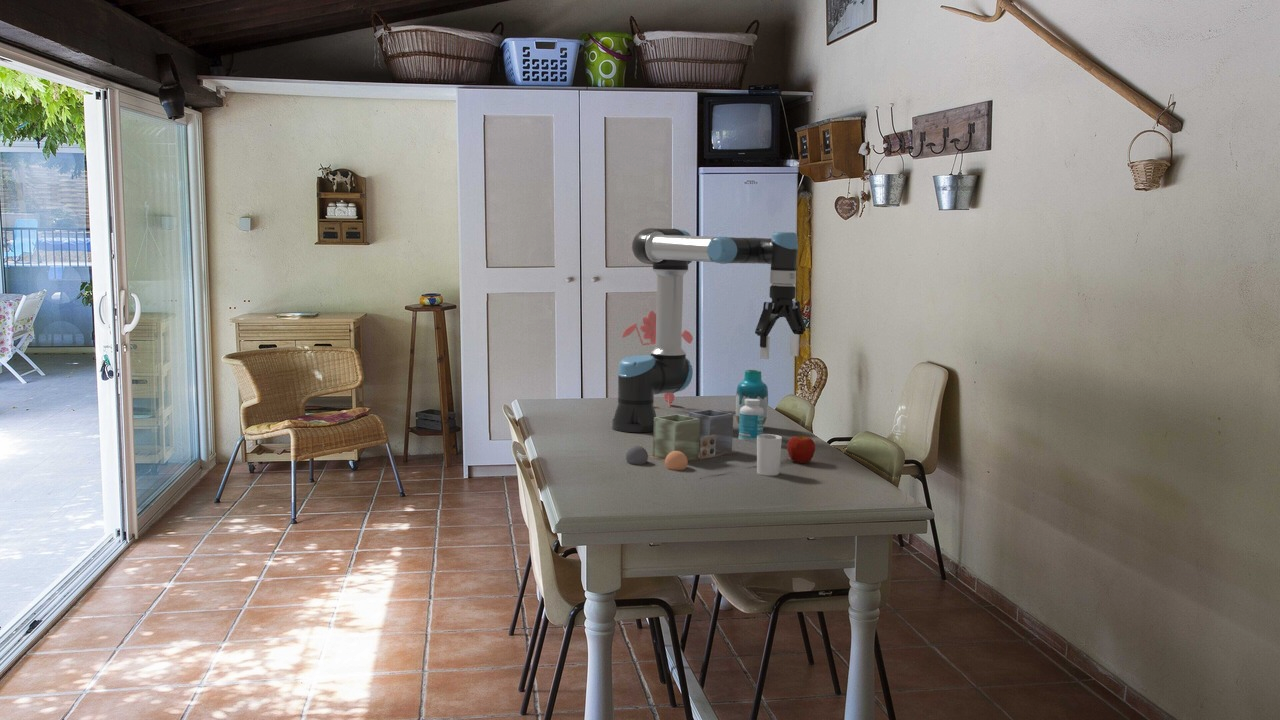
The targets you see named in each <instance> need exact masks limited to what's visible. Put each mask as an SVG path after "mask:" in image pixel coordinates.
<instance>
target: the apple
mask: <svg viewBox="0 0 1280 720" xmlns="http://www.w3.org/2000/svg"><path fill="white" fill-rule="evenodd" d="M786 450H787V453H788V456H789V457H790V460H791V461H793V462H794V463H796V462H797V463H796V464H808V463H809V462H811V461H812V459H813V457H814V454H815V451H816V445H815V442H814V440H813V439H812V438H811V437H808V436H803V435H795V436H792V437H791V438H790V439H789V440H788V441H787V444H786Z"/></svg>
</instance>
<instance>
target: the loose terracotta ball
mask: <svg viewBox="0 0 1280 720" xmlns="http://www.w3.org/2000/svg"><path fill="white" fill-rule="evenodd" d="M688 463H689V462H688V461H687V457H686V456H685V454H684V453H682V452H680V451H672V452H670V453H669V454H668V455H667V457H666V459H665V461H664V466H665V468H666V469H668V470H671V471H683V470H686V469H687V466H688Z"/></svg>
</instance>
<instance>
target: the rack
mask: <svg viewBox="0 0 1280 720" xmlns="http://www.w3.org/2000/svg"><path fill="white" fill-rule="evenodd" d="M733 429H734V413H732V412H731V413H730V412H725V411H720V410H715V409H710V408H709V409H704V410H696V411H689V412H688V416H687V415H683V414H682V415H681V414H669V415H663V416H662V415H661V416H656V417H654V431H653V435H652V436H653V437H652V438H653V440H652V441H653V442H652V454H651V455H649V454H648V459H649V458H651V459H654V460H656V461H657V460H659V461H662V462H665V459H666V457H667V455H668V454H669V453H670V452H672V451H680V452H682V453H684V454H685V456H686V457H687V461H688V463H689V462H695V461H700V460H704V459H709V458H715V457H720V456H724V455H726V456H727V455H731V454H735V453H736V454H737V453H739V450H738V451H737V450H733V434H734V431H733Z"/></svg>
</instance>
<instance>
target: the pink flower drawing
mask: <svg viewBox="0 0 1280 720" xmlns="http://www.w3.org/2000/svg"><path fill="white" fill-rule="evenodd" d="M647 315H648V316H647V317H646V316H644V317H643V318H642V323H643V324H642V325H641V326H640V327H639V329H640V331H641V332H642V333H644V334H643V336H642V338H643V340H649V341H650V342H649V343H648V342H646V343H644V342H643V340H642V338H641V334H640V332H639V329H638V326H637V324H636V323H634V324H631V325H629V326H628V327H627V328H626V329H625V330H624V331H623V332H622V335H621V338H622V339H624V338H626V337H628V336H630V335H631V334H632V333H633V332H634V331H635V329H636V333H637V336H638V338H639V341H640V343H641V345H642V346H647V345H656V312H654V311H653V310H650V311H649V312H648V314H647ZM682 339H683V340H684V341H685V342H686V343H688V344H691V343H692V342H693V340H694V339H693V335H692V334H691V332H690V331H687V330H686V329H684V330H682ZM663 394H664V395H663V396H664V397H663V398H664V400H665V402H667V403H668V408H671V404H673V402H674V400H675V393H663Z"/></svg>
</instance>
